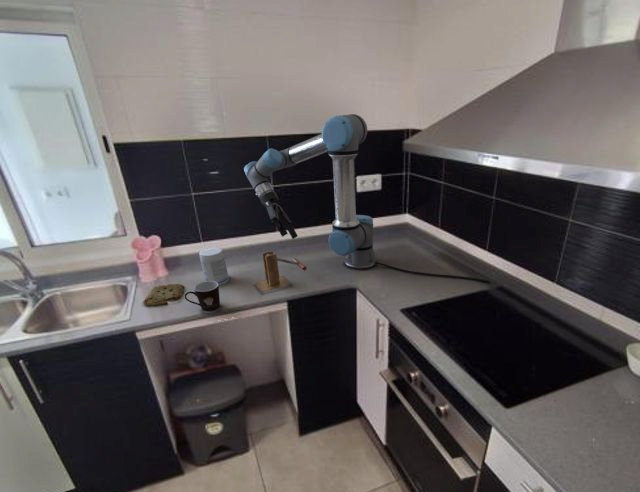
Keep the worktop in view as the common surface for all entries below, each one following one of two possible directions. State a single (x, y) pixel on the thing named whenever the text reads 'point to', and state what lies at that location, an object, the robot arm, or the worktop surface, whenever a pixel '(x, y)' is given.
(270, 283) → the bracket
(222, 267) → the supplement tub
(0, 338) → the worktop surface
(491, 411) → the worktop surface
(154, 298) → the pastry
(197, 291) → the coffee mug
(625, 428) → the worktop surface
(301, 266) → the lever
